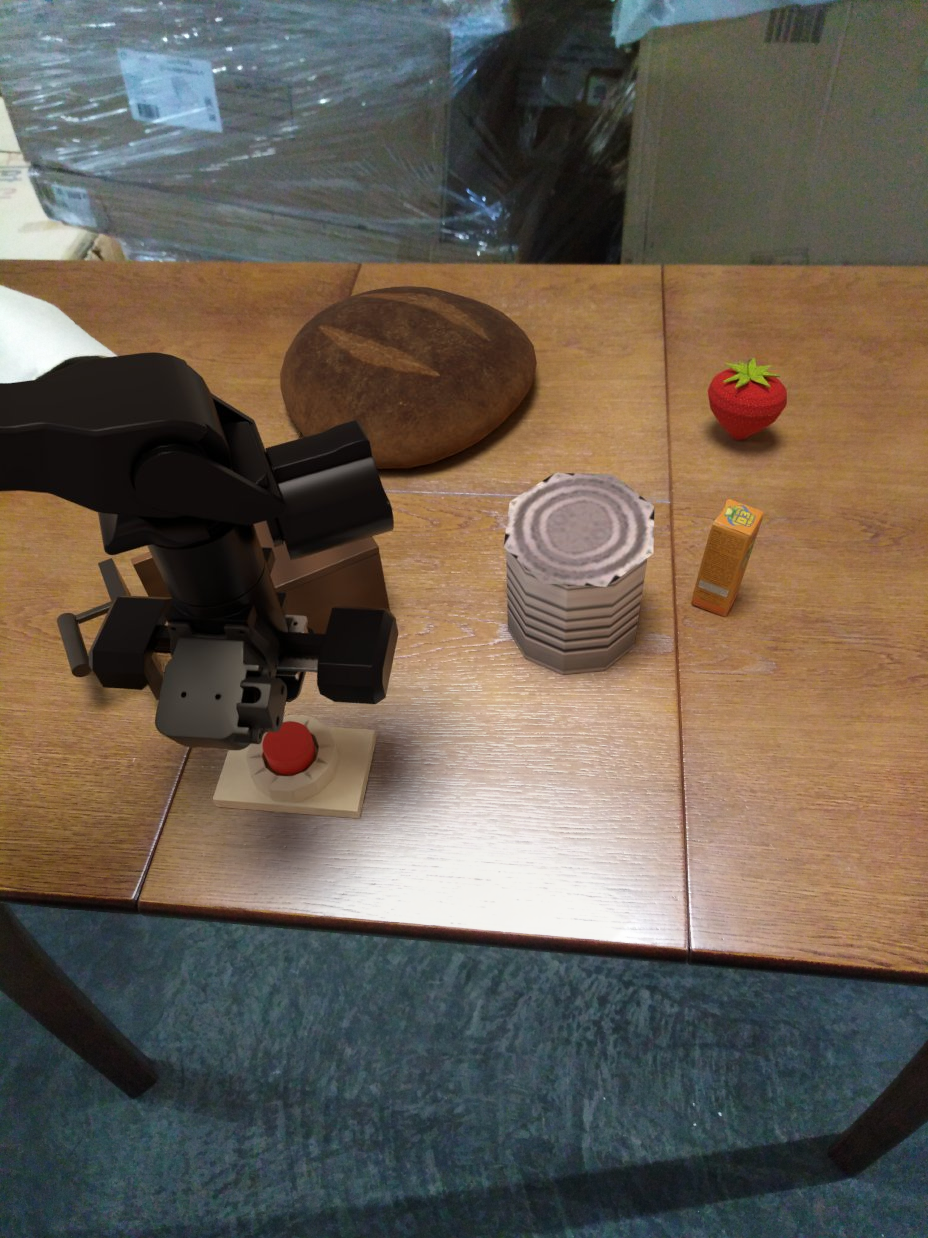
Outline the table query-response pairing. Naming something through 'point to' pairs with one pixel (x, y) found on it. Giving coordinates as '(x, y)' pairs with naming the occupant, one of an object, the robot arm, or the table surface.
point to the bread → (408, 372)
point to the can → (577, 570)
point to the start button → (289, 748)
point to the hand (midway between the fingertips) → (274, 719)
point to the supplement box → (726, 557)
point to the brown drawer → (115, 588)
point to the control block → (302, 775)
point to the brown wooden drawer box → (328, 579)
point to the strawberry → (746, 398)
